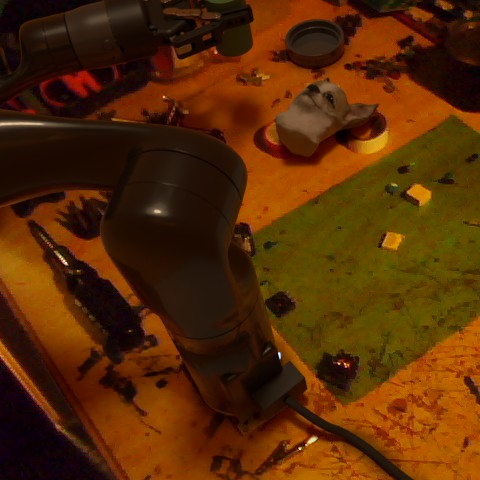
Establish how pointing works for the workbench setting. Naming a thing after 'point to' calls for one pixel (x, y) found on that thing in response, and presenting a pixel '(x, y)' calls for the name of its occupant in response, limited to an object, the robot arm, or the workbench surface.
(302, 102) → the ceramic sculpture
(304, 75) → the workbench surface
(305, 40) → the dark grey jar lid
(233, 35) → the green can
